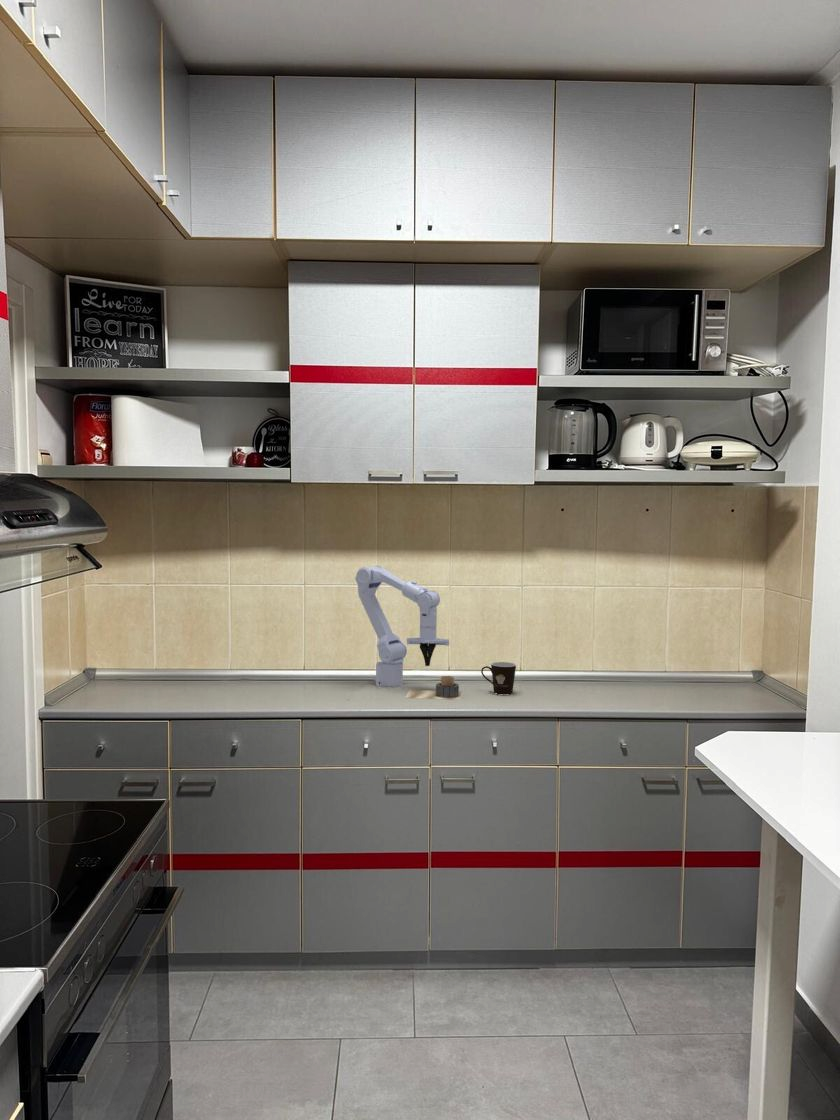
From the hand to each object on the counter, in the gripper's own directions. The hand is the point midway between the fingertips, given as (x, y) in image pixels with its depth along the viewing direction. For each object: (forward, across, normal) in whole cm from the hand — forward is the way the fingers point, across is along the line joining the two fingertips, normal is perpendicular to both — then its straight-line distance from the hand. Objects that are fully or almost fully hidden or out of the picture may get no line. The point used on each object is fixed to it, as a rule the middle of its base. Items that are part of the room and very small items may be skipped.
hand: (427, 665), depth 280 cm
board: (+9, +3, -8) cm, 12 cm away
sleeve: (+9, +8, -7) cm, 14 cm away
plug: (+8, +8, -8) cm, 13 cm away
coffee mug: (+10, +25, +4) cm, 27 cm away
